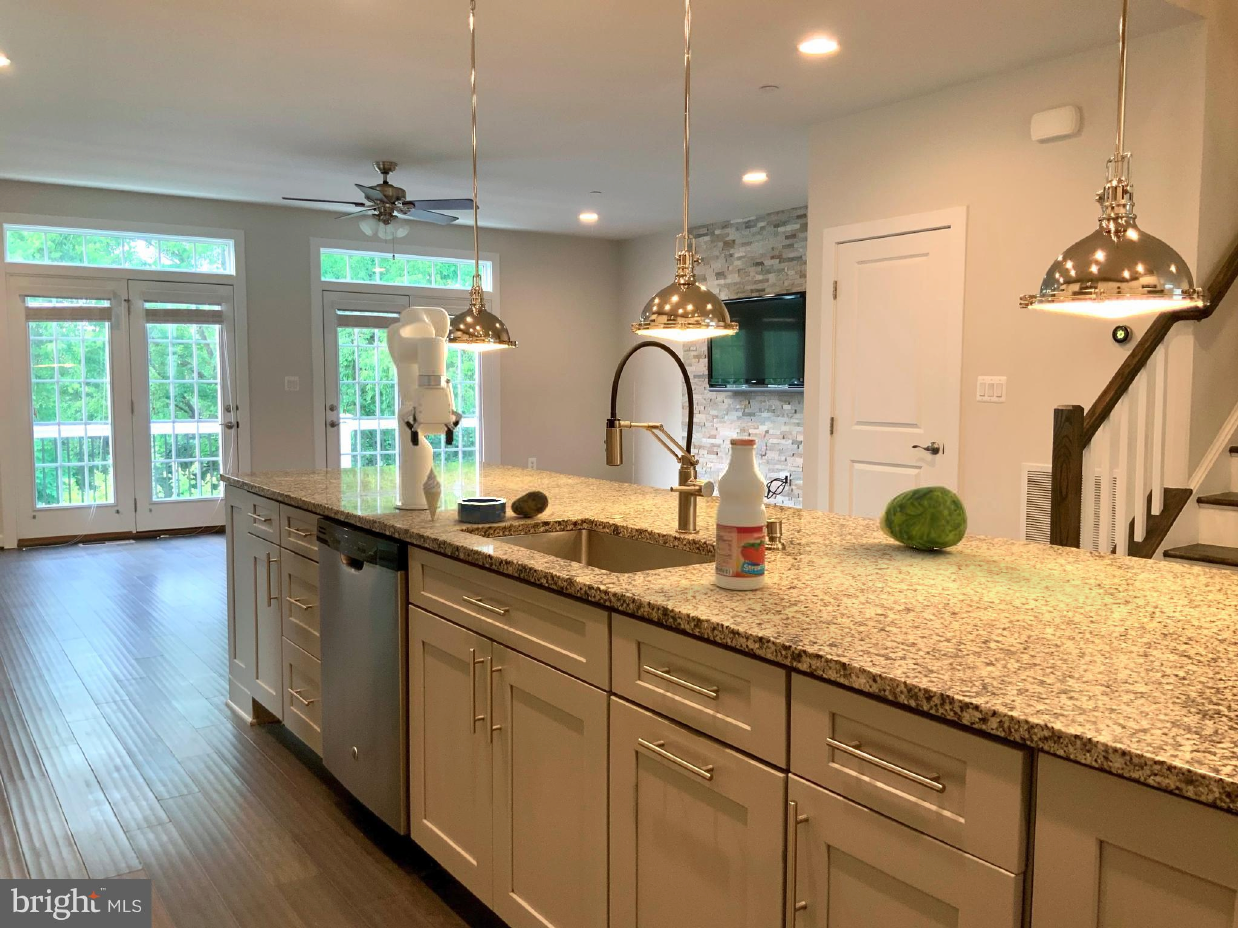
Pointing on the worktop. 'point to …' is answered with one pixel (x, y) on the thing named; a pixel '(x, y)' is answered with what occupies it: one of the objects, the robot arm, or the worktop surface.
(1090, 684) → the worktop surface
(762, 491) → the fruit juice
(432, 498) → the ice cream cone
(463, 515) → the bowl
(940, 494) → the lettuce
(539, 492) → the potato
